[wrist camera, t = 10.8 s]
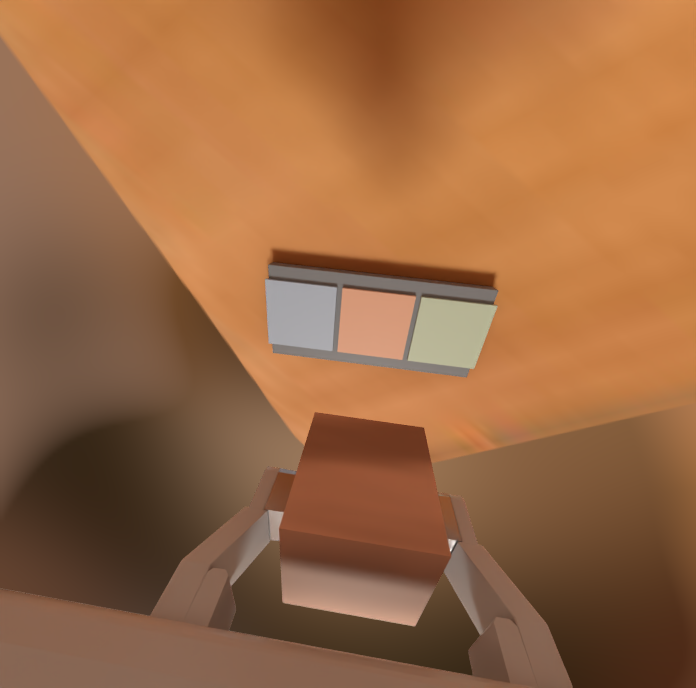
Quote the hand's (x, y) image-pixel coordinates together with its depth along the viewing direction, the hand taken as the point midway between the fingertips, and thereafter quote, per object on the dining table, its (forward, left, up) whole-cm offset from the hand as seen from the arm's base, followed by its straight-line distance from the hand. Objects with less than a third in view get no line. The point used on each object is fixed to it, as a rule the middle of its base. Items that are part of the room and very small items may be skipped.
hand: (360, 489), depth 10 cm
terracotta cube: (0, 0, -2) cm, 2 cm away
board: (0, 0, -18) cm, 18 cm away
